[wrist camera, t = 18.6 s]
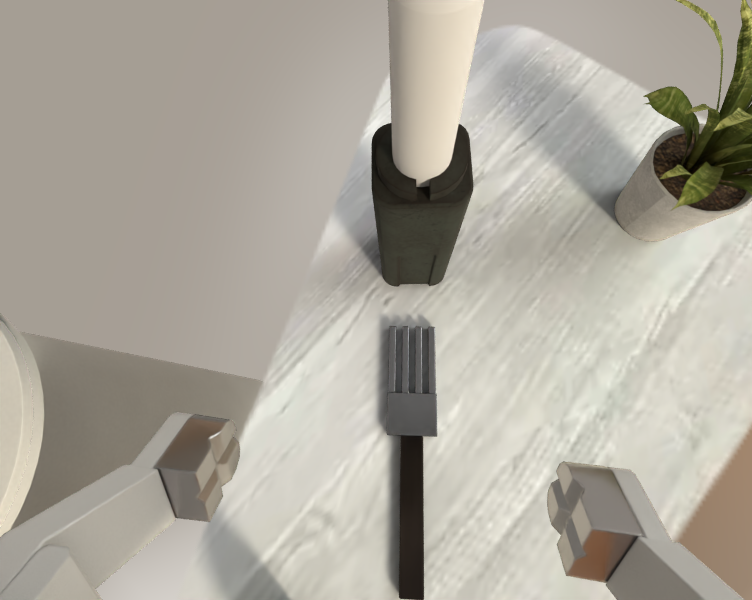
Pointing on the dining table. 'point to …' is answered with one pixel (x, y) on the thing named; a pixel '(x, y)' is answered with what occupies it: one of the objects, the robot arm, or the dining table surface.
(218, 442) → the robot arm
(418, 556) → the fork
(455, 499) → the dining table surface
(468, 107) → the dining table surface
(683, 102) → the house plant
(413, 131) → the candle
